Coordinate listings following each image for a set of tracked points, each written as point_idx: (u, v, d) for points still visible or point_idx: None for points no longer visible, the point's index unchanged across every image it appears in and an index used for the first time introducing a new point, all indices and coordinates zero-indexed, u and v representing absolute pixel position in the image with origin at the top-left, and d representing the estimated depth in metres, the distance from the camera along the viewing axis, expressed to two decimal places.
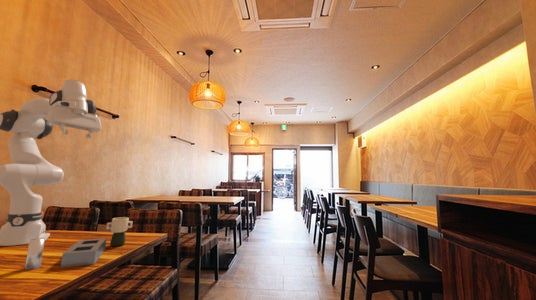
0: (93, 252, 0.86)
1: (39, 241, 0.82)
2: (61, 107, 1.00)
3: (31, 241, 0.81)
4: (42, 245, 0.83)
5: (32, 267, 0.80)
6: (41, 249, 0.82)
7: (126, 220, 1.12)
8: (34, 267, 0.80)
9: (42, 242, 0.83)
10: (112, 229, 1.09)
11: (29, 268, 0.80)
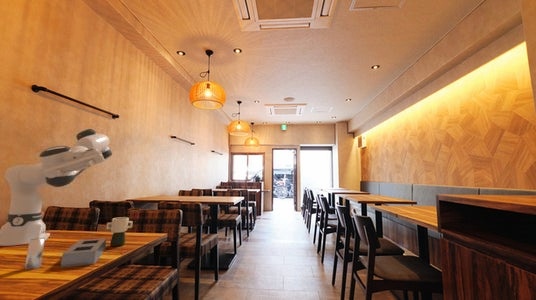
0: (93, 252, 0.86)
1: (39, 241, 0.82)
2: None
3: (31, 241, 0.81)
4: (42, 245, 0.83)
5: (32, 267, 0.80)
6: (41, 249, 0.82)
7: (126, 220, 1.12)
8: (34, 267, 0.80)
9: (42, 242, 0.83)
10: (112, 229, 1.09)
11: (29, 268, 0.80)
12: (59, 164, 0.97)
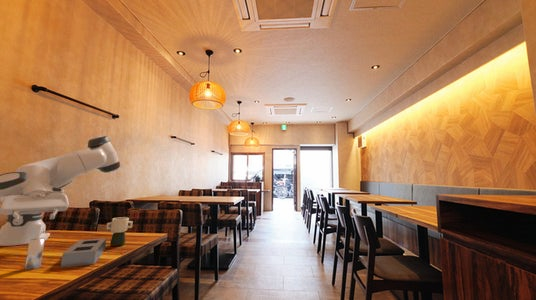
0: (93, 252, 0.86)
1: (39, 241, 0.82)
2: None
3: (31, 241, 0.81)
4: (42, 245, 0.83)
5: (32, 267, 0.80)
6: (41, 249, 0.82)
7: (126, 220, 1.12)
8: (34, 267, 0.80)
9: (42, 242, 0.83)
10: (112, 229, 1.09)
11: (29, 268, 0.80)
12: (18, 198, 0.92)
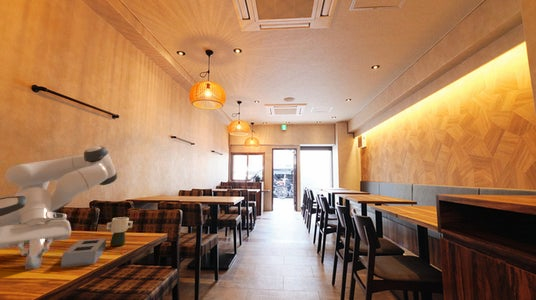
0: (93, 252, 0.86)
1: (39, 241, 0.82)
2: None
3: (31, 241, 0.81)
4: (42, 245, 0.83)
5: (32, 267, 0.80)
6: (41, 249, 0.82)
7: (126, 220, 1.12)
8: (34, 267, 0.80)
9: (42, 242, 0.83)
10: (112, 229, 1.09)
11: (29, 268, 0.80)
12: (15, 228, 0.82)
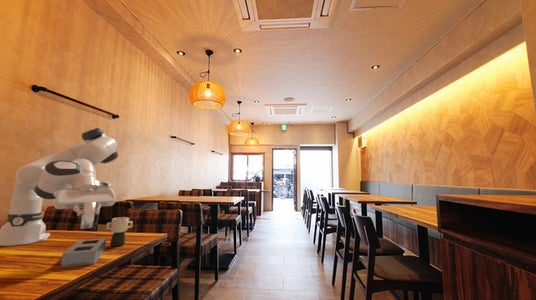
0: (93, 252, 0.86)
1: (92, 204, 0.91)
2: None
3: (85, 203, 0.90)
4: (94, 208, 0.92)
5: (87, 226, 0.89)
6: (93, 211, 0.91)
7: (126, 220, 1.12)
8: (88, 226, 0.89)
9: (94, 205, 0.92)
10: (112, 229, 1.09)
11: (84, 227, 0.88)
12: (70, 192, 0.91)
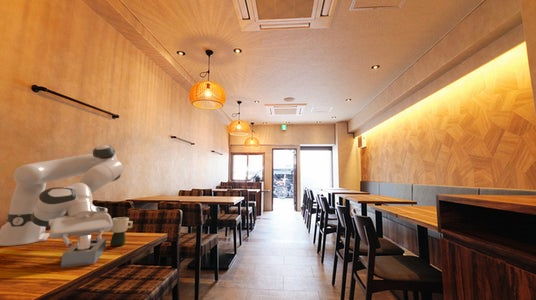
0: (93, 252, 0.86)
1: (87, 237, 0.89)
2: None
3: (80, 237, 0.88)
4: (89, 241, 0.90)
5: None
6: (89, 244, 0.89)
7: (126, 220, 1.12)
8: None
9: (89, 238, 0.90)
10: (112, 229, 1.09)
11: None
12: (65, 220, 0.89)
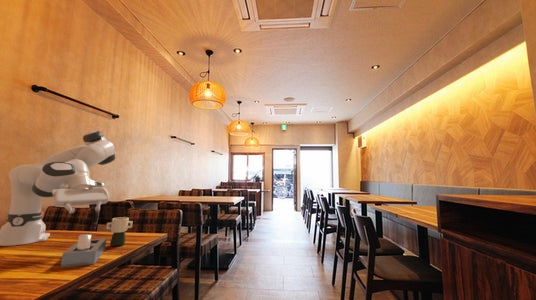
0: (93, 252, 0.86)
1: (87, 237, 0.89)
2: None
3: (80, 237, 0.88)
4: (89, 241, 0.90)
5: None
6: (89, 244, 0.89)
7: (126, 220, 1.12)
8: None
9: (90, 238, 0.90)
10: (112, 229, 1.09)
11: None
12: (67, 191, 1.00)
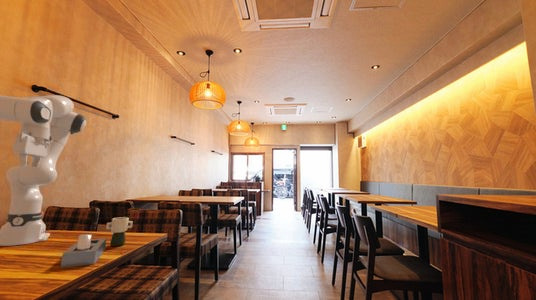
0: (93, 252, 0.86)
1: (87, 237, 0.89)
2: None
3: (80, 237, 0.88)
4: (90, 241, 0.90)
5: None
6: (89, 244, 0.89)
7: (126, 220, 1.12)
8: None
9: (90, 238, 0.90)
10: (112, 229, 1.09)
11: None
12: (31, 141, 0.91)
